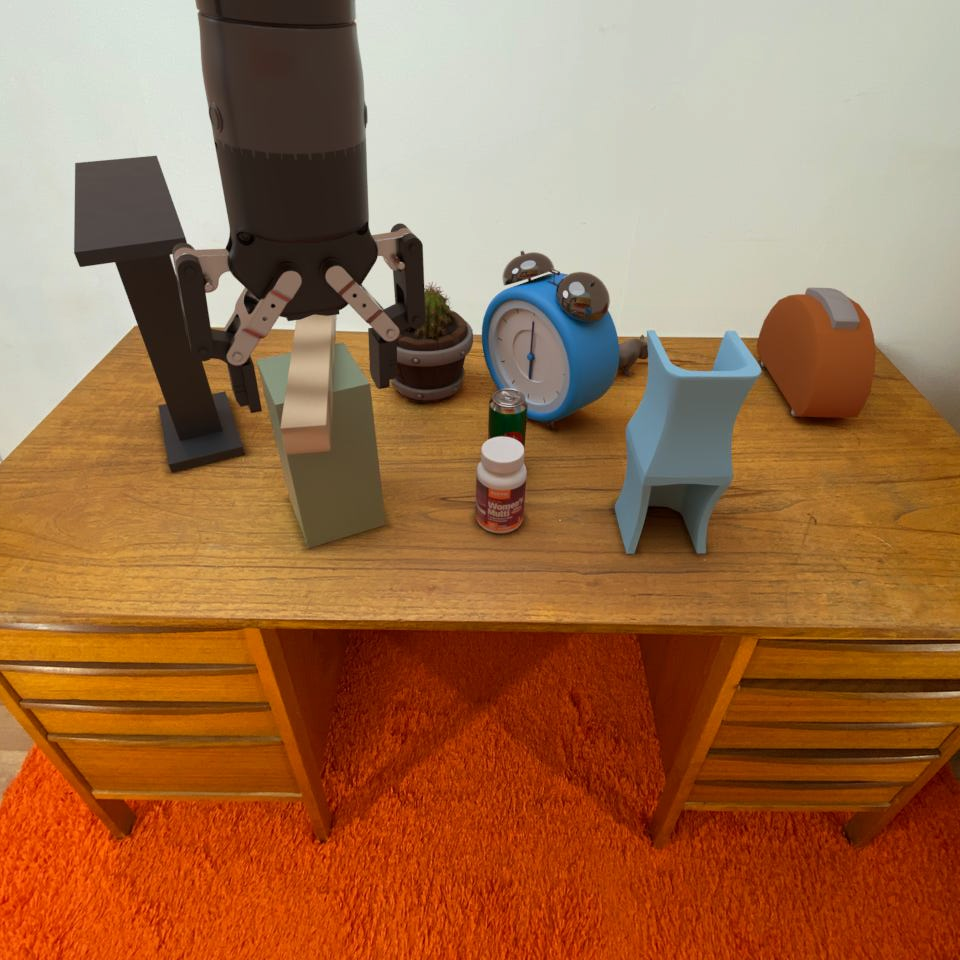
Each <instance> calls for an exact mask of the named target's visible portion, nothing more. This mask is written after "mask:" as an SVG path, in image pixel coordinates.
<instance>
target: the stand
mask: <svg viewBox="0 0 960 960" xmlns="http://www.w3.org/2000/svg"><path fill="white" fill-rule="evenodd" d="M73 229H74V230H73V254H74V256H75V259H76V261H77V264H78V266H79V267H80V268H85V267H91V266H92V267H93V266H98V265H104V264H106V265H107V264H112V263H115V266H116V269H117V271H118V274H119V278H120V280H121V283H122V286H123V289H124V291H125V294H126V296H127V300H128V302H129V305H130V308H131V310H132V314H133V316H134V319H135V322H136V324H137V327H138V330H139V332H140V336H141V338H142V341H143V344H144V346H145V350H146V352H147V355H148V357H149V360H150V363H151V365H152V368H153V372H154V374H155V377H156V379H157V382H158V385H159V388H160V391H161V394H162V396H163V399H164V401H165V403H164V404H159V405H157V407H158V412H159V418H160V424H161V430H162V436H163V441H164V448H165V454H166V459H167V465H168V468H169V470H170V473H171V474H173V473H178V472H180V471H185V470H188V469H193V468H197V467H200V466H205V465H208V464H213V463H217V462H220V461H225V460H228V459H233V458H237V457H240V456H245V455H246V452H245V448H244V445H243V441H242V438H241V435H240V432H239V430H238V426H237V423H236V420H235V417H234V414H233V411H232V408H231V407H232V406H231V405H230V402H229V398H228V395H227V392H226V390H223V391H219V392H212V389H211V386H210V382H209V379H208V376H207V373H206V369H205V366H204V363H203V362H204V361H198V360H196V359H195V358H194V357H193V355H192V353H191V349H190V343H189V340H188V338H187V334H186V328H185V323H184V317H183V311H182V306H181V300H180V294H179V289H178V283H177V277H176V271H175V266H174V263H173V261H172V260H173V259H172V257H171V255H173V254H172V250H173V248H174V246H175V245H177V244H179V243H188V242H187V237H186V235H185V232H184V230H183V227H182V223H181V221H180V218H179V215H178V212H177V210H176V207H175V204H174V201H173V197H172V194H171V193H170V189H169V187H168V183H167V181H166V178H165V175H164V172H163V170H162V167H161V164H160V161H159V158H158V155H148V156H146V155H145V156H137V157H135V156H134V157H126V158H114V159H105V160H104V159H103V160H102V159H101V160H93V161H83V162H82V161H81V162H75V163H74V226H73Z"/></svg>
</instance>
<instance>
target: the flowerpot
mask: <svg viewBox="0 0 960 960" xmlns="http://www.w3.org/2000/svg"><path fill="white" fill-rule="evenodd" d="M433 283H434V282H433V281H432V282H431V283H430V282H429V281H427V284H428V285H426V287H424V291H425V317H426V320H425V323H424V324H423V326H421V327H420V328H417V329H414V328H411V327H410V328H408V329H406V330H404V331H403V332H401V333H400V335H399V336H398V338H397V374H396V376H395V379H391V385H392V386H393V387H394V388H395V390H396V391H397V392H398V393H400V395H401V396H402V397H403V398H405V399H408V401H411V402H414V403H419V404H433V403H436V402H438V403H443V402H446V401H448V400H451V399H452V398H453V397H454V396H456V394H457V393H458V391H459V390H460V389H461V388H462V387H463V386H462V385H463V383H464V379H465V376H466V370H465V367H464V365H465V360H466V356H467V355H468V354H469V353H470V352H471V350H472V347H473V344H474V332H473V330H474V329H473V327H472V326H471V325H470V324H469V322H467V321H466V320H465V319H464V318H463V317H462V316H461V315H460V314H459V313H457V312H456V311H454V310H453V309H452V307H450V305H451V302H450V298H448V295H446V293H445V294H444V290H441V286H436V285H437V284H438V282H436V283H435V284H434V286H433ZM442 293H443V294H442Z"/></svg>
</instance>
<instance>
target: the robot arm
mask: <svg viewBox="0 0 960 960" xmlns="http://www.w3.org/2000/svg"><path fill="white" fill-rule="evenodd" d="M194 1H195V6H196V7H195V8H196V10H198V12H197V20H198V28H199V29H198V30H199V43H200V44H199V46H200V63H201V73H202V81H203V86H204V91H205V97H206V103H207V108H208V116H209V120H210V124H211V130H212V136H213V141H214V147H215V148H214V149H215V153H216V159H217V165H218V171H219V175H220V181H221V187H222V192H223V198H224V199H223V200H224V204H225V209H226V214H227V215H226V216H227V220H228V225H229V236H228V240H227V243H226V246H225V248H210V249H208V248H206V249H205V248H204V249H195V247H194V246H193V245H191V244H190V243H188V242H187V243H179V244H177V245H175V246H174V248H173V250H172V254H171V255H172V260H173V267H174V270H175V273H176V277H177V283H178V289H179V294H180V300H181V306H182V311H183V317H184V323H185V328H186V334H187V338H188V340H189V343H190V349H191V353H192V355H193V357H194V358H195V359H196V360H198V361H202V362H208V361H210V360H211V359H212V360H213V359H214V360H220V361H222V362H224V363H225V364H226V366H227V372H228V376H229V380H230V385H231V390H232V393H233V395H234V399H235V402H236V403H237V404H238V406H239V408H240V407H241V408H243V407H248V411H249V414H256V413H257V414H258V413H261V412H263V409H262V408H263V407H262V404H261V403H262V402H261V397H260V392H259V386H258V380H257V376H256V370H255V369H256V368H255V363H254V362H253V359H252V356H251V355H252V353H253V352H254V350H255V349H256V347H257V345H258V344H259V342H260V341H261V340H262V339H265V338H266V337H267V336H268V335H269V334H270V332H271V330H272V329H273V327H274V326H275V324H276V322H277V321H278V319H279V317H280V318H285V319H286V320H287V322H294V321H296V320H301V319H303V318H306V317H309V316H311V315H323V316H330V315H337V316H338V315H340V311H341V310H343V309H345V308H346V307H347V306H348V305H349V306H350V307H351V309H353V310H354V311H355V312H356V313H357V314H358V316H359V317H360V318H361V319H362V320H363V321H364V322H366V324H368V325H369V326H370V327H368V328H367V330H368V331H367V333H368V335H367V337H368V358H369V374H370V378H371V379H372V381H373V383H374V385H375V386H376V388H377V390H383V389H388V388H390V386H391V385H390V383H391V382H390V381H391V380H392V379H395V376H396V374H397V338H398V336H399V335H400V333H401V332H403V331H404V330H406V329H408V328H410V327H411V328H414V329H417V328H420V327H421V326H423V324H424V323H425V320H426V317H425V291H426V290H424V288H425V269H424V267H425V265H424V245H423V242H422V241H421V240H420V238H418V236H416V234H415V233H414V232H413V231H412V230H411V228H409V227H408V226H407V225H406V224H404V223H401V222H399V223H396V224H394V225H393V226H392V228H391V229H390V231H389V232H384V233H377V234H372V233H371V230H370V225H369V224H370V212H369V211H370V210H369V209H370V208H369V187H368V186H369V185H368V184H369V183H368V158H367V157H368V155H367V154H368V153H367V125H368V106H367V104H366V101H365V100H366V99H365V98H366V97H365V80H364V71H363V64H362V57H361V51H360V44H359V38H358V27H357V22H356V21H355V20H356V19H357V0H194ZM378 257H382V259H383V261H384V263H385V264H386V266H388V268H390V270H392V276H393V277H392V278H393V279H392V280H393V291H394V304H391V305H389V306H387V307H386V308H384V307H383V306H382V305H381V304H380V303H379V302H378V300H377V299H376V298H375V297H374V296H373V295H372V294H371V293H370V291H369V290H368V289H367V288H366V286H365V285H364V284H363V283H364V281H365V280H366V278H367V276H368V275H369V273H370V272H371V270H372V269H373V267H374V266H375V264H376V262H377V259H378ZM228 272H230V273H231V275H232V276H233V277H234V279H236V280H237V281H238V282H239V283H240V284H241V285H242V286H243V287H244V288H243V290H242V292H241V293H240V295H239V297H238V298H237V300H236V302H235V306H234V311H233V312H232V314H231V316H230V317H229V318H228V321H227V323H226V324H225V326H224V328H223V329H222V330H221V329H215V328H211V320H210V314H209V305H208V300H207V294H209V293H212V292H214V291H216V290H217V289H218V287H219V281H220V277H221V276H222V275H223V274H225V273H228Z"/></svg>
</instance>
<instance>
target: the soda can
mask: <svg viewBox="0 0 960 960" xmlns="http://www.w3.org/2000/svg"><path fill="white" fill-rule="evenodd" d="M527 409H528V404H527V401H526V400H525V395H524V394H523V393H522V392H520V391H518V390H515V389H500V390H498V389H497V390H496V391H494V392H493V394H492V395H491V399H490V400H489V402H488V423H487V424H488V427H487V429H488V430H487V440H489V439H491V438H494V437H510V438H513V439H516V440H518V441H519V442H520V443H521V444H522V445H523V447H524V450H525V449H526V448H525V447H526V435H527V433H526V432H527V421H528V418H527Z"/></svg>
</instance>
